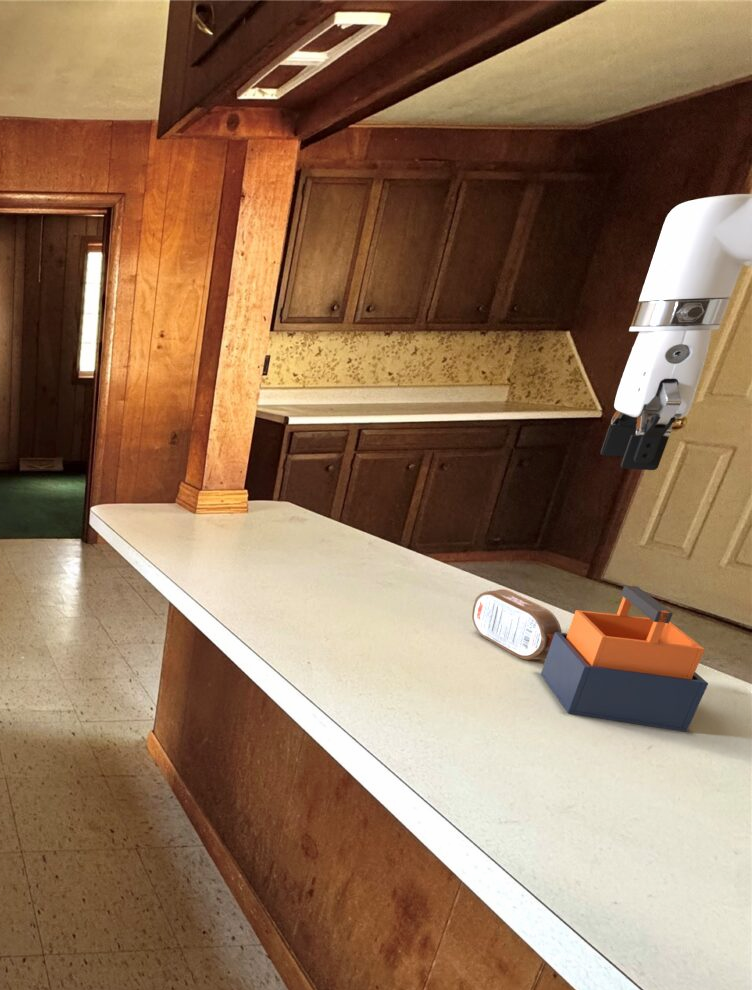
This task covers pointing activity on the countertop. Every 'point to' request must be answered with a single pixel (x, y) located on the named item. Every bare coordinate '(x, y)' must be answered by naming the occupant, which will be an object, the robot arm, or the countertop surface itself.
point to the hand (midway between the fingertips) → (626, 462)
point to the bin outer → (620, 690)
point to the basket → (635, 639)
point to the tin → (515, 623)
